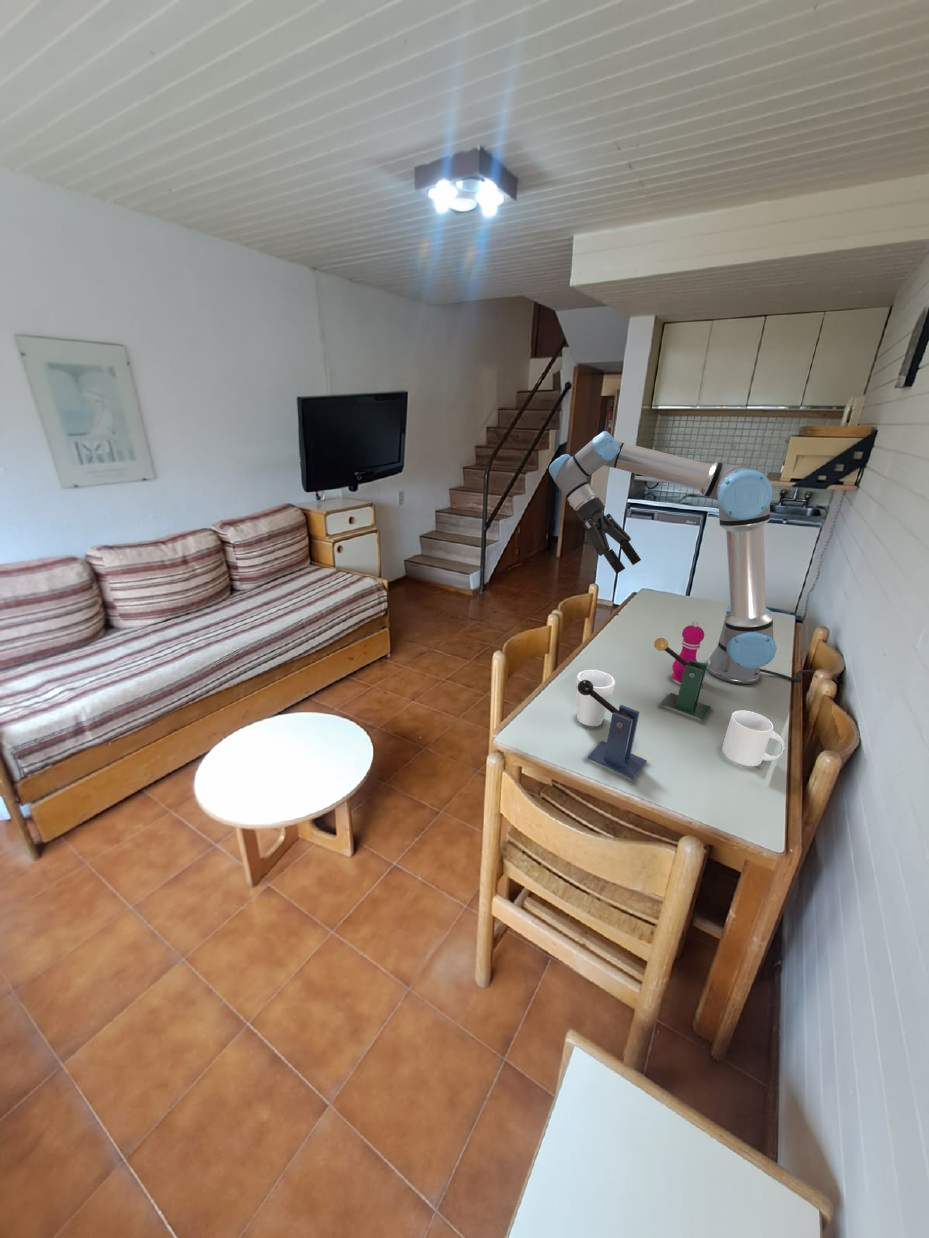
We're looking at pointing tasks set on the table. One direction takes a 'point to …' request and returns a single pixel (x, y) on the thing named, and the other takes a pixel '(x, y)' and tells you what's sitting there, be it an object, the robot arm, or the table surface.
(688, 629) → the pepper mill
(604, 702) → the black lever
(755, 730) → the mug
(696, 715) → the green bracket
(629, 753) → the blue bracket
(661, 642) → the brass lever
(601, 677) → the foam cup
